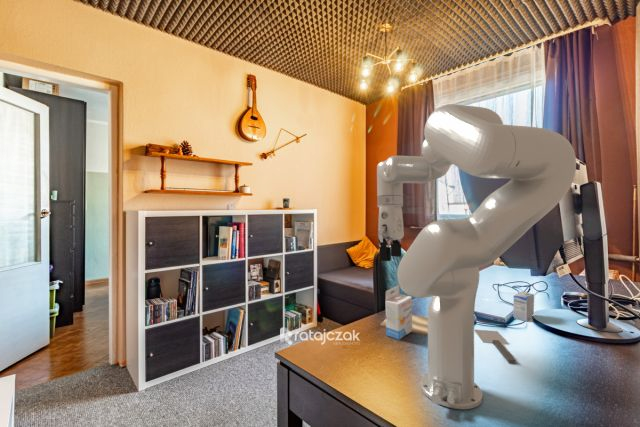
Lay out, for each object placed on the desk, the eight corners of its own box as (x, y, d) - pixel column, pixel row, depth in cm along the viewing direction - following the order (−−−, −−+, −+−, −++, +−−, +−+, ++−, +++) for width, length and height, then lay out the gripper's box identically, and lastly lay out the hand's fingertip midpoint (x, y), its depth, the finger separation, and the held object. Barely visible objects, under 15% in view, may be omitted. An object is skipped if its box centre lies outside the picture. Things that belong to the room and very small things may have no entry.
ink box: (399, 340, 92) (398, 294, 91) (385, 335, 96) (384, 291, 95) (413, 330, 98) (412, 287, 97) (399, 326, 102) (398, 284, 101)
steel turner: (527, 364, 77) (527, 361, 77) (497, 362, 79) (497, 358, 79) (497, 332, 98) (497, 329, 98) (474, 330, 99) (474, 327, 99)
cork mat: (427, 335, 96) (427, 333, 96) (380, 325, 104) (380, 324, 104) (436, 320, 108) (436, 319, 108) (393, 312, 117) (393, 311, 117)
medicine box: (520, 313, 115) (520, 291, 115) (534, 316, 111) (534, 293, 111) (513, 318, 110) (513, 295, 110) (527, 322, 106) (527, 297, 106)
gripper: (392, 200, 81) (393, 263, 81) (410, 202, 95) (411, 255, 95) (366, 201, 85) (367, 261, 85) (387, 203, 99) (388, 254, 99)
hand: (390, 258), depth 90 cm, fingers open, 9 cm apart
